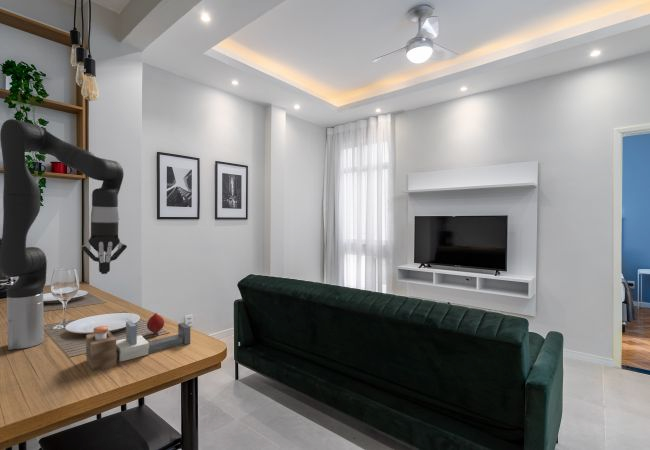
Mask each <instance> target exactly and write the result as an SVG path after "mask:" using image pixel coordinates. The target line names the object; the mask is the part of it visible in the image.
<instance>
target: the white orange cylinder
mask: <svg viewBox="0 0 650 450" xmlns="http://www.w3.org/2000/svg"><path fill="white" fill-rule="evenodd" d="M108 330H109V327H108V325H100V326H96V327H94V328H93V333H95V340H100V339H105V338H106V331H108Z"/></svg>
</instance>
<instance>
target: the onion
mask: <svg viewBox="0 0 650 450" xmlns="http://www.w3.org/2000/svg"><path fill="white" fill-rule="evenodd" d="M146 327H147V329H148V330H149V331H150V332H151V333H153V334H156V335H157V334H158V333H159V332H160V331H161V330H162V329H163V328H164V327H165V321H164V318H163V316H160V315H158V312H154V314H153V315H152V316H150V318H149V319H148V321H147V323H146Z"/></svg>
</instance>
